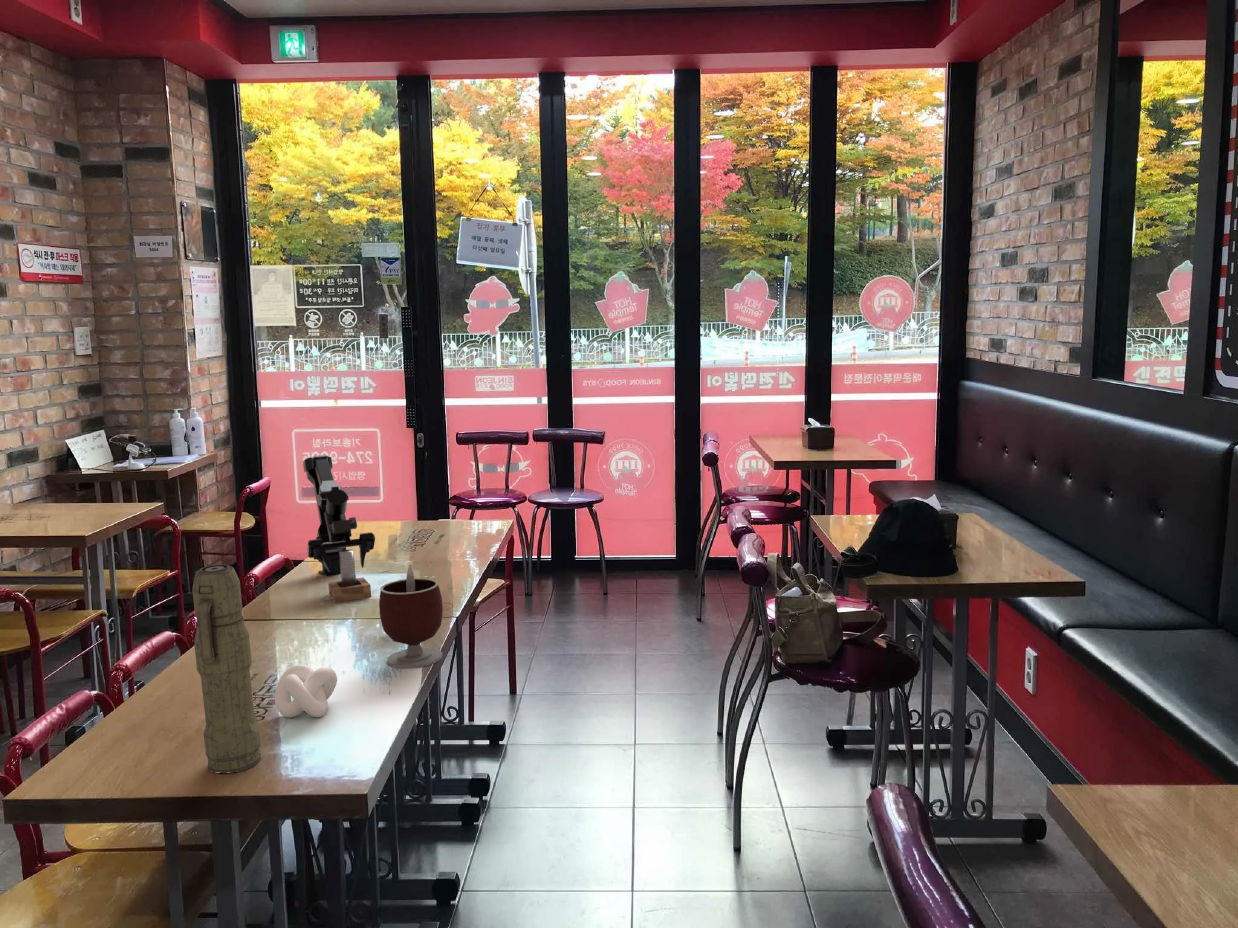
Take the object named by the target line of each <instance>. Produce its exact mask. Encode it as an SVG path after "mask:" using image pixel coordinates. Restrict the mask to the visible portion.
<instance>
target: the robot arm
mask: <svg viewBox="0 0 1238 928" xmlns="http://www.w3.org/2000/svg"><path fill="white" fill-rule="evenodd" d="M332 459H333V458H332V456H329V455H326V454H320V455H314V456H310V457H309V456H307V457H306V459H304V460H303V462H302V466H303V472H304V473H306V477H307V479H308V481H309V482H310V483H311V484H312V485H313V489H314V494H315V495H314V496H315V500H316V502H315V503H316V507H317V513H318V518H319V523H320V525H319V526H318V529H317V533H316V537H315V539H309V540H308V542H307V549H306V551H307V556H308V558H310V559H312V558H313V560H317V561H318V562H319V563H320V564H321V567H322V568H321V570H318V571H317V573H319V574H322V575H324V576H332V575H336V574H341V570H340V558H339V551H342V550H347V548H351V547H352V548H353V547H359V560H360V566H361V568H362V569H363V568H364V567H365V559H366V555H367V553H370V552H371V551H372V550H373V549H374V548H375V543H376V536H375V534H374V533H373V532H372V531H371V532H370V531H369V532H363V533H359V537H358V538H354V539H351V537H352V530H356V529H357V528H358V523H357V519H356V517H355V516H354V517H353V516H352V517H349V518H348V519H347V518H346V511H347V508H348V507H347V506H348V501H349V500H350V499H349V496H348V493H346V491H344V490H342V487H341V485H340V484H338V483H336V482H335V480H334V476H333V473H332V470H333V460H332Z"/></svg>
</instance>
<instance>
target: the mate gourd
mask: <svg viewBox="0 0 1238 928" xmlns="http://www.w3.org/2000/svg"><path fill="white" fill-rule="evenodd" d="M440 589H441V588H440V587H439V582H438V581H437V580H435V579H432V578H420V577H419V578H415V575H414V570H413V565H412V564H411V563H410V564H408V568H407V573H406V579H398V580H395V581H391V582H388V583H385V584H384V585H381V586H380V593H379V601H378V606H379V607H378V608H379V618H380V622H381V626H382V629H383V632H384V633H385V634H386V635H387V636H388V637H389V638H390V639H391V641H393V642H394V643H395V642H396V643H399V644H403V645H407V648H405V649H401V650H398V651H395V652H392V653H391V654H390V655H389V656H388V657H387V659H386V660H387V661H386V662H387V665H389V666H391V667H393V668H397V669H417V668H423V667H427V666H431V665H434V664H435V663H438V662H439V661H441V659H442V658H443V652H442V650H440V649H439V648H435V647H425V646H424V647H423V646H421V643H423V642H426V641H427V640H429V639H431V638H433V637H434V636H436V634H437V633H438V631H439V629H440V628H441V625H442V621H443V611H444V608H443V597H442V593H441V590H440Z"/></svg>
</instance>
